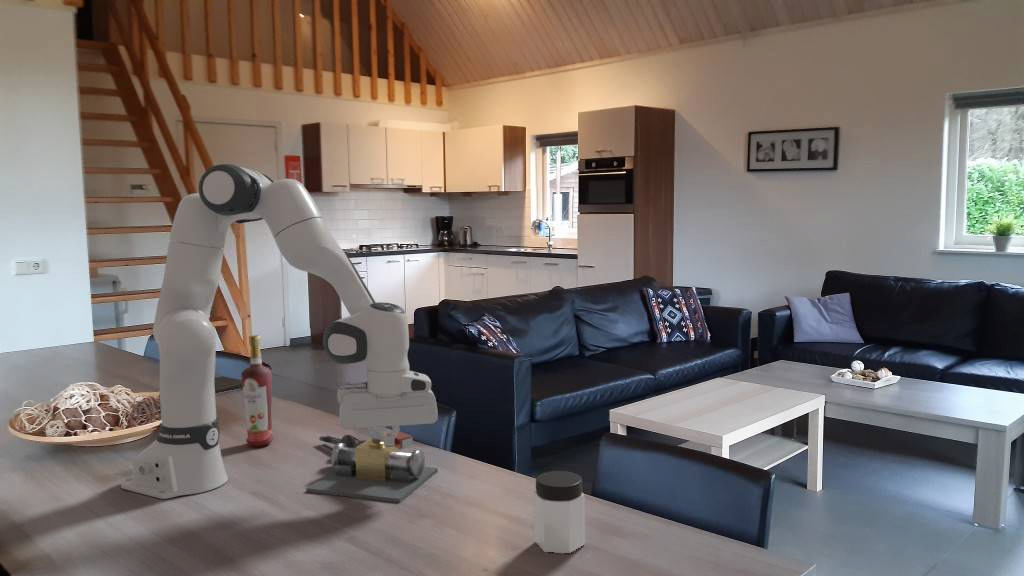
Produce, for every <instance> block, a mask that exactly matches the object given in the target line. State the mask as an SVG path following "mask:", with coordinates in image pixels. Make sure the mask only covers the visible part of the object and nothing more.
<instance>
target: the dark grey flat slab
mask: <svg viewBox="0 0 1024 576" xmlns="http://www.w3.org/2000/svg"><path fill="white" fill-rule="evenodd" d="M214 386H215V393H219V392H224V391H229V390H234V389H239V388H243V385H242V379H239V378H238V379H237V378H234V377H227V376H219V377H215V378H214Z"/></svg>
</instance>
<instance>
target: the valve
mask: <svg viewBox="0 0 1024 576" xmlns="http://www.w3.org/2000/svg"><path fill="white" fill-rule="evenodd" d="M367 440H368V439H367ZM367 440H365V439H364V440H360V439H358V438H357V437H355V436H353V435H351V434H345V435H343V436H342V437H341V438H339V437H333V436H331V435H326V436H325V435H320V436H319V440H318V441H320V442H324V443H328V444H333V445H334V446H335V445H336V444H337V443H344V444H346V445H347V447H349V448H355V447H357V446H359V445H360V444H362V443H364V442H365V441H367Z"/></svg>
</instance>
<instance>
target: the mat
mask: <svg viewBox="0 0 1024 576" xmlns="http://www.w3.org/2000/svg"><path fill="white" fill-rule="evenodd" d="M438 469H439V468H438V467H432V466H431V467H430V466H424V469H423V472H422V474H421V475H420V476H419V477H417V478H415V479H414V480H413V481H412V482H410V483H401V482H393V481H392V477H391V478H390V479H388V480H387V481H386V482H383V481H374V480H364V479H356V475H354V476H353V477H344V476H336V474H335V469H334V470H333V471H332V472H330V473H327V475H325V476H324V477H322V478H320V479H319V480H317V481H315V482H314V483H312V484H311V485H309V486H308V487H306V488H305V489H306V493H311V492H312V494H320V493H322V494H321V495H329V494H333V495H332V496H337V495H340V496H339V497H346V496H348V498H355V497H356V498H358V499H363V498H365V499H364V500H372V501H381V500H382V502H383V501H384V502H390V503H391V502H392V503H402V502H403V501H405V499H406V498H408V497H409V496H411V494H413V493H414V492H415V491H416V490H417V489H419V487H421V486H422V485H423V484H424V483H426V482H427V481H428V480H429V479H430V478H431V477H433V476H434V475H435V474H437V472H439V471H438ZM401 501H402V502H401Z"/></svg>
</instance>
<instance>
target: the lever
mask: <svg viewBox="0 0 1024 576" xmlns="http://www.w3.org/2000/svg"><path fill="white" fill-rule="evenodd" d="M384 433H385V434H386V436H387V437H389V436H391V435H392V433H393V429H391V428H388V427H386V431H384ZM366 435H367V436H370V437H371V438H372V442H380V441H384V439H383V437H382V436H381V434H380V433H379V430H378V427H371V428H366ZM413 443H414V442H413V436H412V435H411V434H408V433H405V432H402V431H401V430H400V431H399V433H398V434H397V436H396V438H395V446H393V447H396V448H398V449H399V450H404V449H406V448H411V447H413V446H414V445H413Z"/></svg>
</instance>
